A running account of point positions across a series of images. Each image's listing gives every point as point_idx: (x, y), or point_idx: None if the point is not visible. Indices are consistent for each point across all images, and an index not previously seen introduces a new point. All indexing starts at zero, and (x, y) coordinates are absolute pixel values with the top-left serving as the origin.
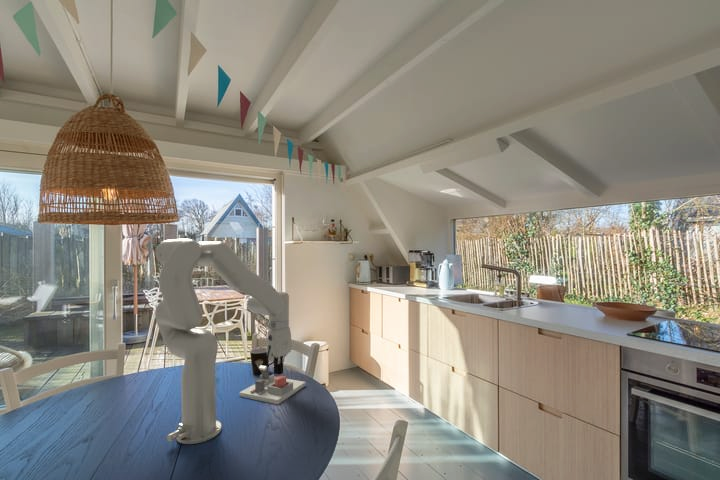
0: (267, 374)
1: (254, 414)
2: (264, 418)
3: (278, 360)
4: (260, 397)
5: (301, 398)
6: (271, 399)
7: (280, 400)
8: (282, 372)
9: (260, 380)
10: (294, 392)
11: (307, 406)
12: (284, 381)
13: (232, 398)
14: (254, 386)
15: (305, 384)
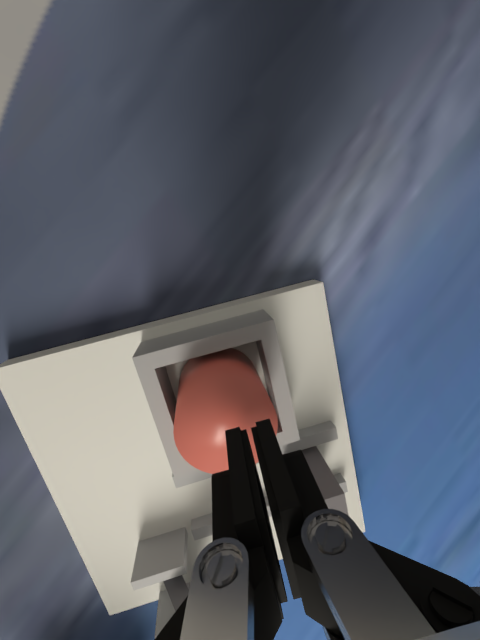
0: (186, 595)
1: (452, 283)
2: (461, 199)
3: (380, 567)
4: (342, 401)
5: (166, 219)
6: (329, 326)
7: (289, 287)
8: (236, 430)
9: None
10: (143, 324)
11: (223, 82)
12: (220, 372)
13: (385, 515)
14: None
15: (4, 362)
